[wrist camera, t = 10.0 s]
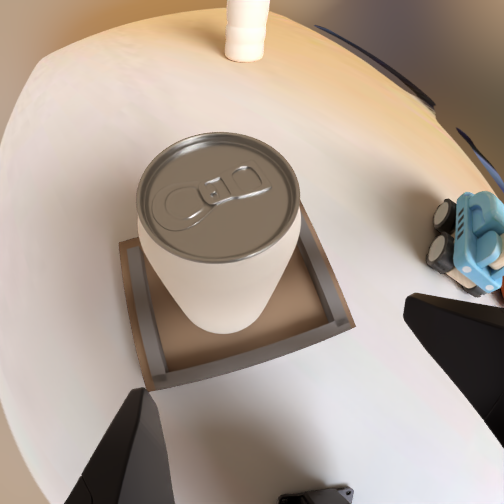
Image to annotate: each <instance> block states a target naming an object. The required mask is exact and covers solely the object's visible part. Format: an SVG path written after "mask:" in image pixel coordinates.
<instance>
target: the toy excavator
mask: <svg viewBox="0 0 504 504" xmlns="http://www.w3.org/2000/svg"><path fill="white" fill-rule="evenodd" d="M433 218H434V228H435V229H436V230H438V231H439V232H441V233H442V234H441V235H440V236H437V237H435V239H434V240H433V242H432V244H431V246H430V247H429V249H430V251H429V255H428V254H427V256H426V260H427V264H428V265H429V266H431V267H432V268H434V269H435V270H437V271H438V272H439V273H440V274H444V273H446V274H447V275H449V276H450V277H452V278H453V279H454V280H456V281H457V282H459V283H460V284H462V285H463V289H464V290H465V291H466V292H468V293H470V294H471V295H473V296H474V297H481V296H480V295H482V294H483V295H485V294H486V293H490V292H493V291H495V290H497V289H499V288H500V287H501V286H502V276H504V204H503V203H502V202H501V201H500V200H499V199H498V198H497V197H496V196H495V195H494V194H492V193H491V192H488V191H482V192H479V193H477V194H475V195H474V194H472V193H470V192H465V193H464V194H462V195H461V196H460V197H459V198H458V199H457V204H456V203H454V202H453V201H451V200H450V199H445V200H444V202H443V204H441V205H439V206H438V208H437V210H436V212H435V215H434V217H433Z"/></svg>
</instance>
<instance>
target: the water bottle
mask: <svg viewBox="0 0 504 504" xmlns="http://www.w3.org/2000/svg"><path fill="white" fill-rule="evenodd" d="M269 5H270V0H227V26H226V43H225V56H226V57H227V58H228V59H230V60H233V61H236V62H254V61H258V60H259V59H261V58H262V57H263V52H264V39H265V35H266V26H265V25H266V21H267V17H268V11H269Z"/></svg>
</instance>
